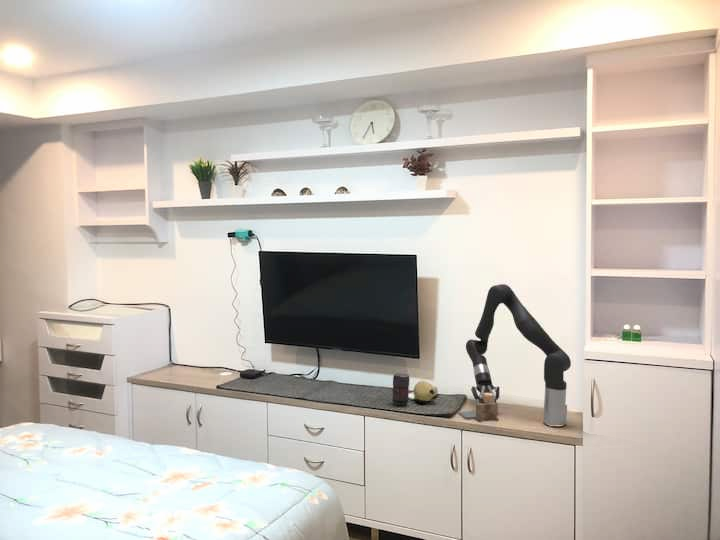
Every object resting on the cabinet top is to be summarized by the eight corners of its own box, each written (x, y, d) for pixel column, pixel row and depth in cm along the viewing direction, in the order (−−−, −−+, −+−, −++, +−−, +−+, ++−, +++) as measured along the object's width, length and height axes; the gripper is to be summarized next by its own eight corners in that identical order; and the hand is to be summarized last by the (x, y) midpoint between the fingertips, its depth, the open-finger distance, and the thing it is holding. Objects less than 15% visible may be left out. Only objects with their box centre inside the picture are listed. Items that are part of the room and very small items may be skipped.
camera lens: (403, 408, 287) (405, 378, 286) (389, 405, 292) (390, 375, 290) (411, 404, 294) (412, 374, 293) (396, 401, 298) (397, 372, 297)
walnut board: (493, 417, 278) (494, 401, 278) (498, 420, 274) (499, 404, 273) (474, 418, 275) (475, 403, 275) (478, 421, 271) (479, 405, 271)
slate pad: (473, 413, 284) (473, 411, 284) (481, 418, 276) (481, 416, 276) (458, 414, 282) (458, 412, 281) (465, 419, 274) (465, 417, 274)
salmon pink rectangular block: (489, 413, 285) (490, 392, 284) (493, 416, 281) (494, 395, 280) (480, 413, 284) (481, 392, 283) (485, 416, 279) (486, 395, 278)
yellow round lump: (432, 406, 292) (433, 385, 291) (410, 402, 297) (410, 381, 297) (439, 401, 300) (440, 381, 299) (417, 397, 306) (418, 377, 305)
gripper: (470, 371, 287) (476, 403, 276) (498, 371, 289) (506, 403, 278) (466, 379, 293) (472, 410, 282) (494, 379, 294) (501, 410, 283)
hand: (489, 406), depth 280 cm, fingers closed on salmon pink rectangular block, 5 cm apart
